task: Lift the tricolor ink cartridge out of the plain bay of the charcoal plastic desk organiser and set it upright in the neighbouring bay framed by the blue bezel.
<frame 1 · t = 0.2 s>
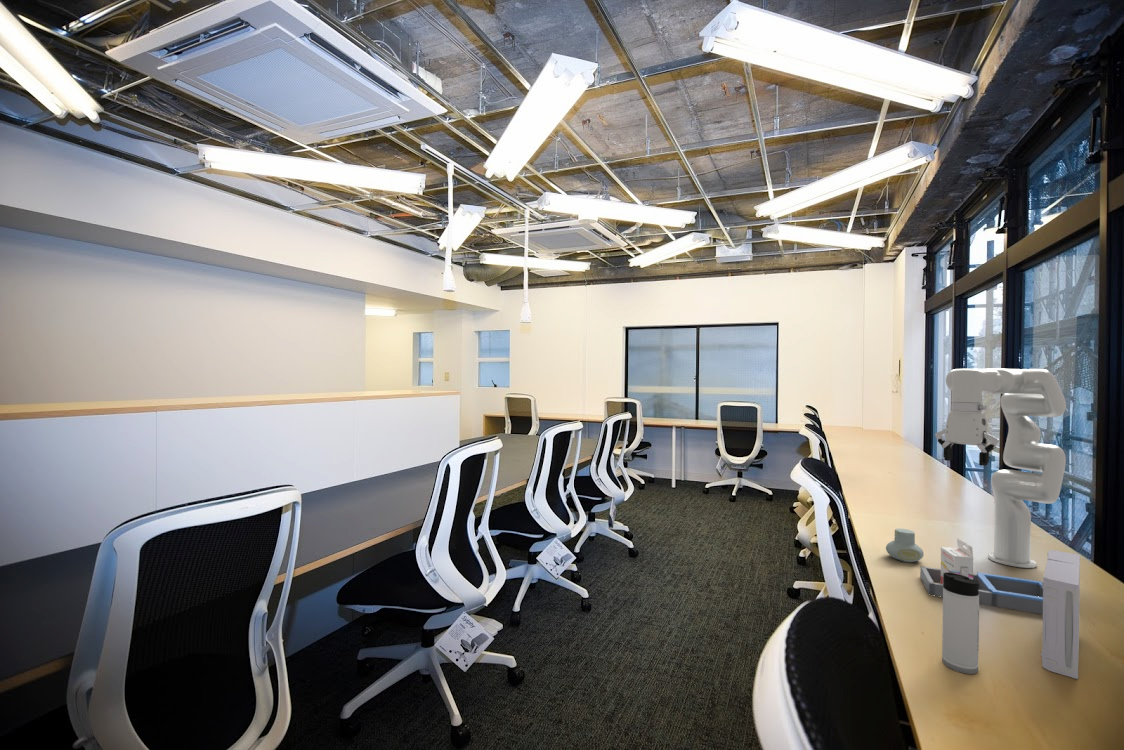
hand: (965, 462, 162), 37 cm above the counter, tool pointing down, fingers open, 9 cm apart
air freshener: (904, 560, 179), on the counter
travel mug: (959, 667, 113), on the counter
organiser: (986, 595, 150), on the counter
game console: (1060, 651, 120), on the counter
ink cartridge box: (956, 591, 153), resting in organiser
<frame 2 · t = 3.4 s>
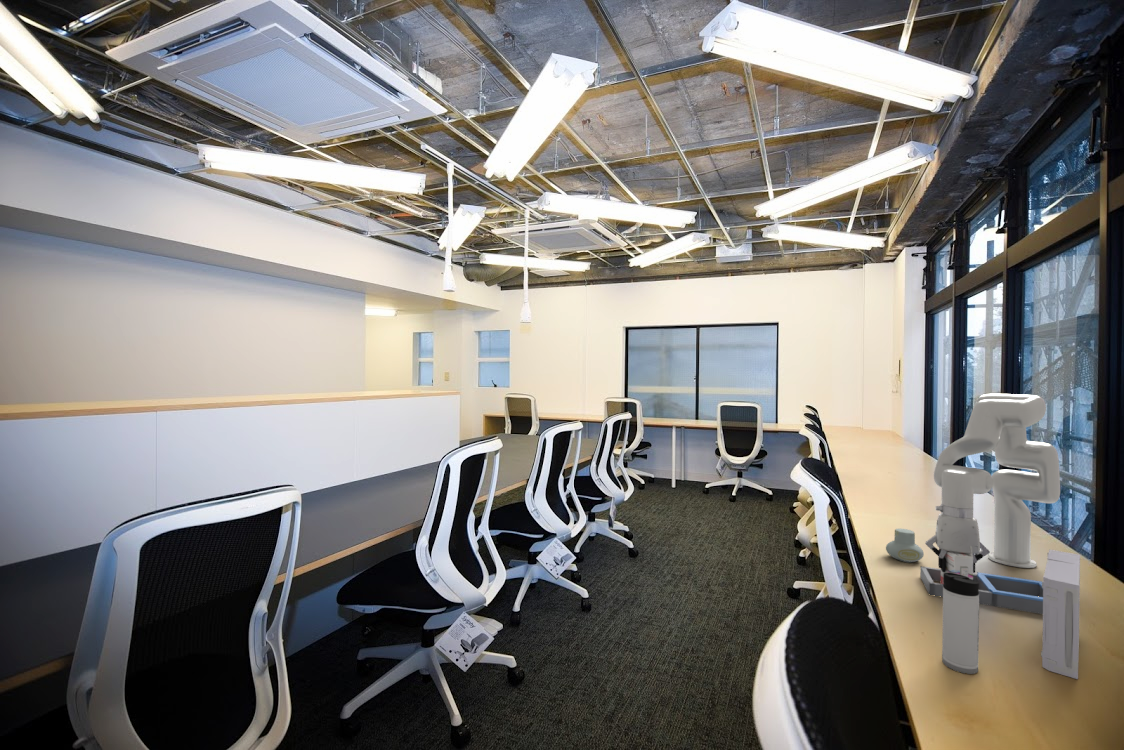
hand: (956, 572, 153), 6 cm above the counter, tool pointing down, fingers closed on ink cartridge box, 5 cm apart
ink cartridge box: (956, 591, 153), resting in organiser, touching gripper
everything else where it was.
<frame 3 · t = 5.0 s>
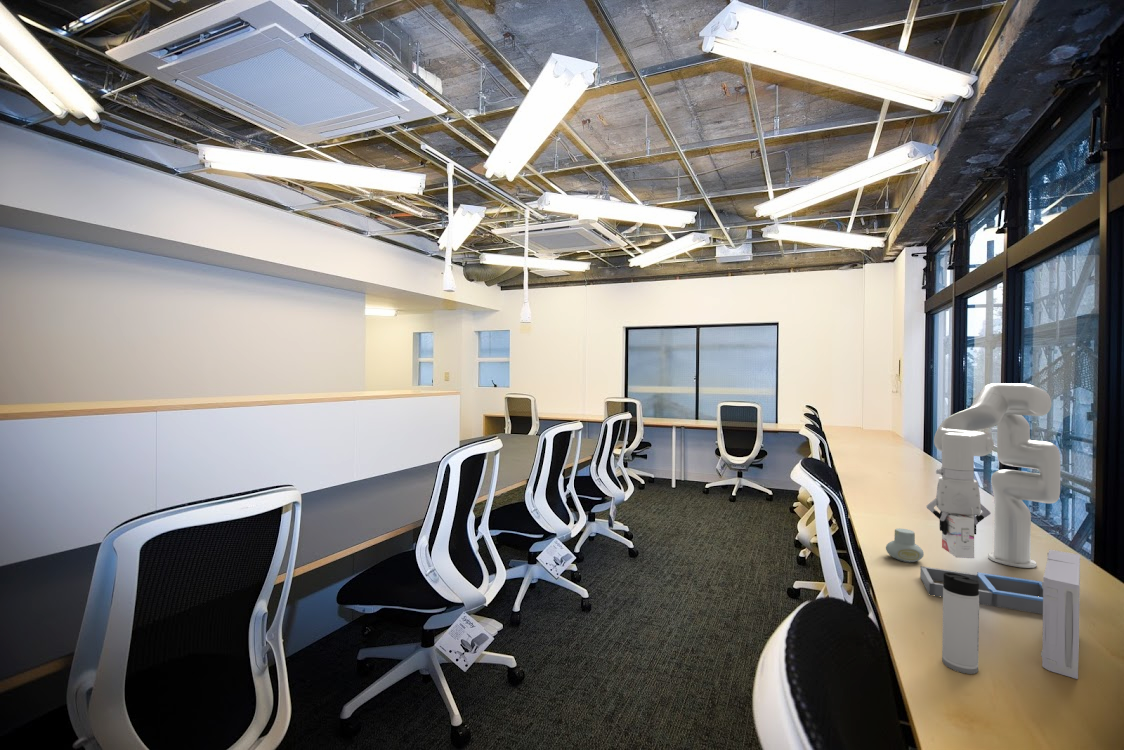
hand: (957, 534, 153), 17 cm above the counter, tool pointing down, fingers closed on ink cartridge box, 5 cm apart
ink cartridge box: (957, 553, 154), point 11 cm above the counter, touching gripper
everything else where it was.
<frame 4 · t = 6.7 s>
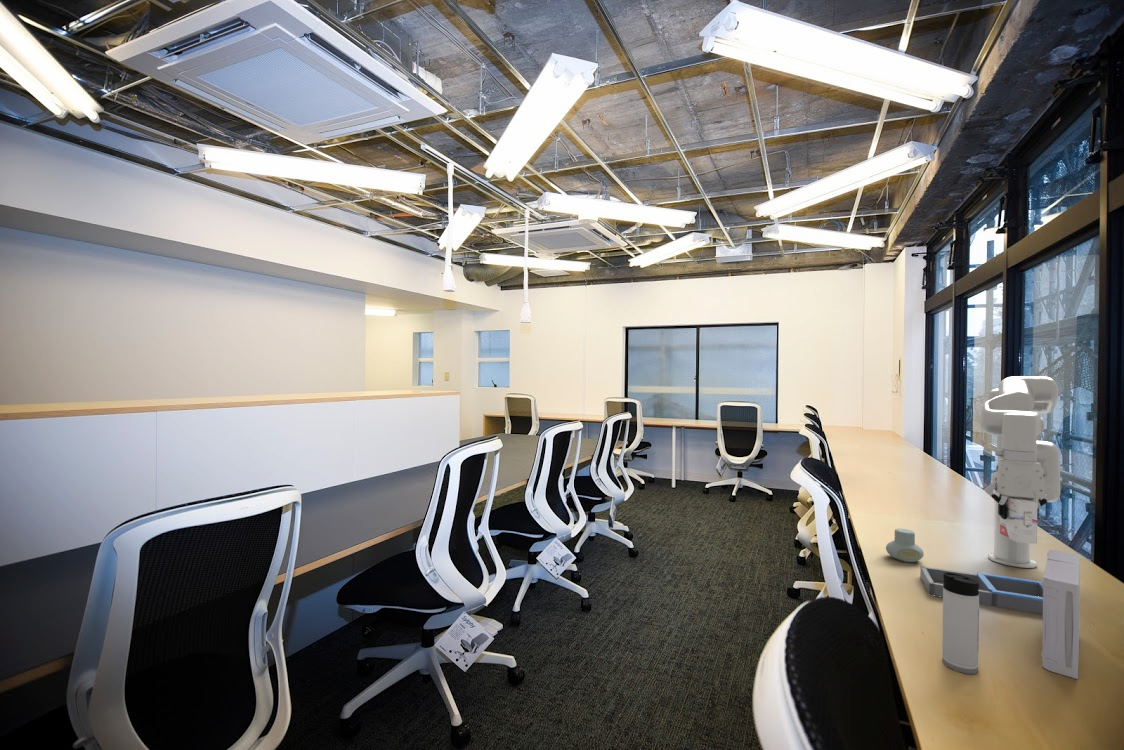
hand: (1017, 519, 147), 23 cm above the counter, tool pointing down, fingers closed on ink cartridge box, 5 cm apart
ink cartridge box: (1017, 539, 147), point 17 cm above the counter, touching gripper
everything else where it was.
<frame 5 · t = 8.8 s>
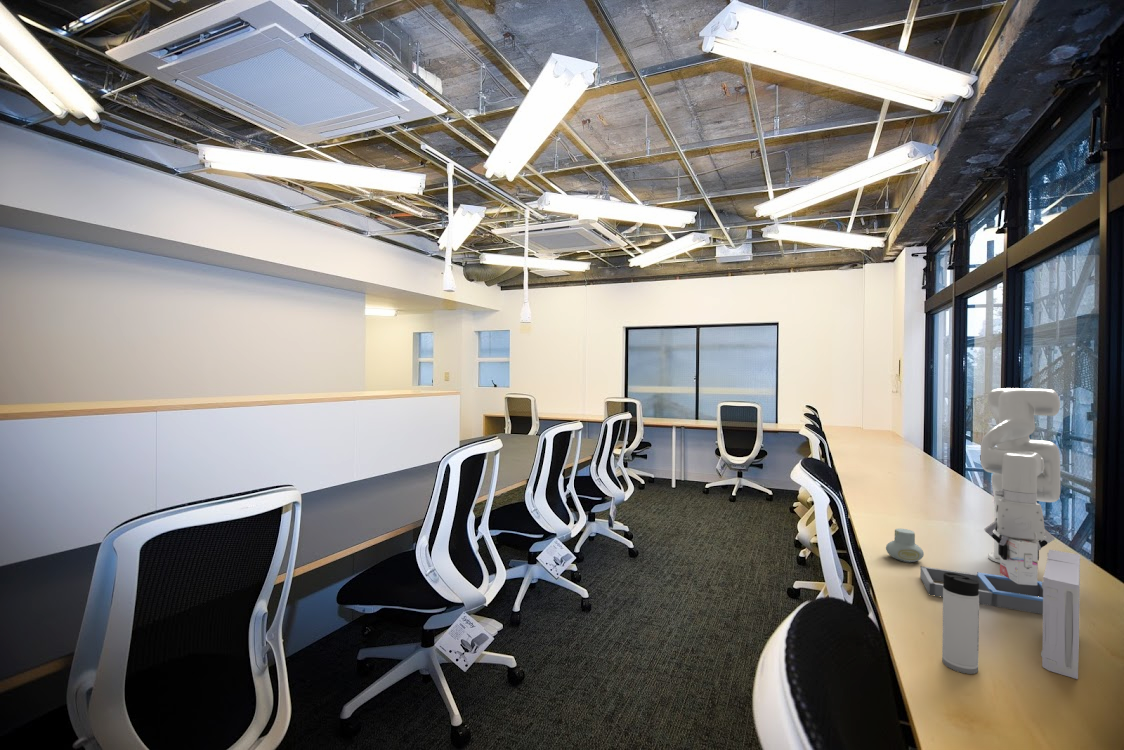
hand: (1018, 559, 147), 12 cm above the counter, tool pointing down, fingers closed on ink cartridge box, 5 cm apart
ink cartridge box: (1017, 580, 147), point 6 cm above the counter, touching gripper
everything else where it was.
when the fingers open (7 cm above the counter, at t = 10.3 s): ink cartridge box drops 1 cm, resting in organiser.
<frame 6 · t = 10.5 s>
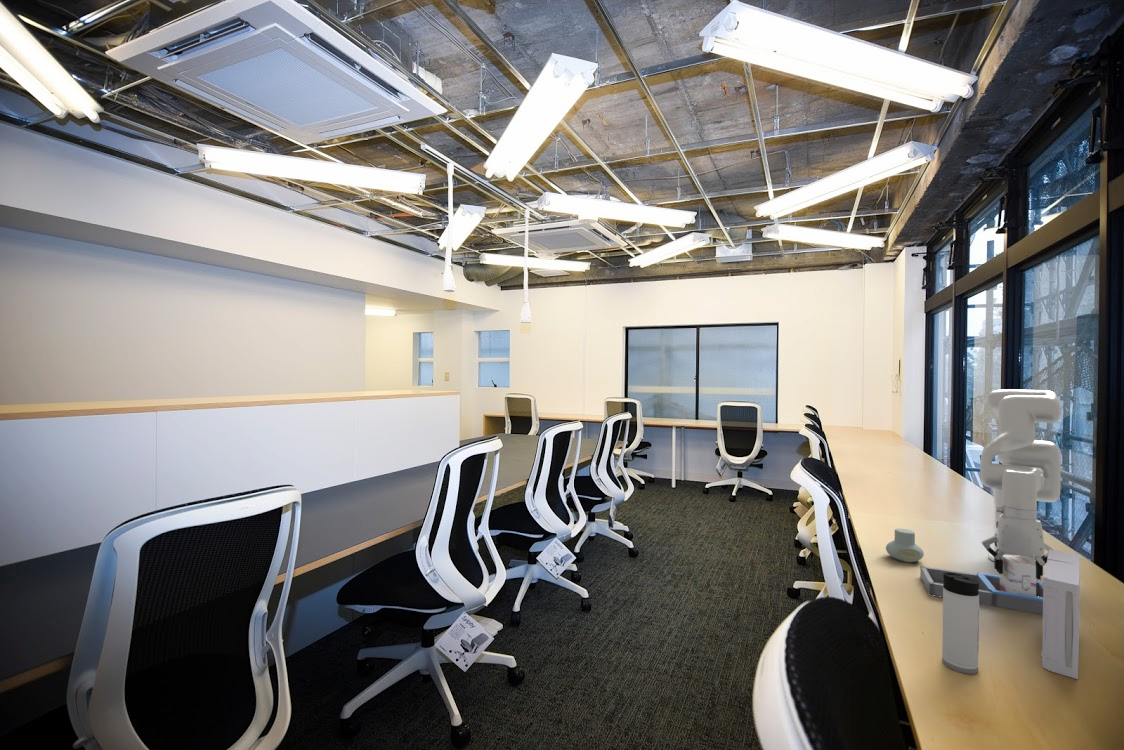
hand: (1018, 574, 147), 7 cm above the counter, tool pointing down, fingers open, 7 cm apart
ink cartridge box: (1017, 601, 147), resting in organiser
everything else where it was.
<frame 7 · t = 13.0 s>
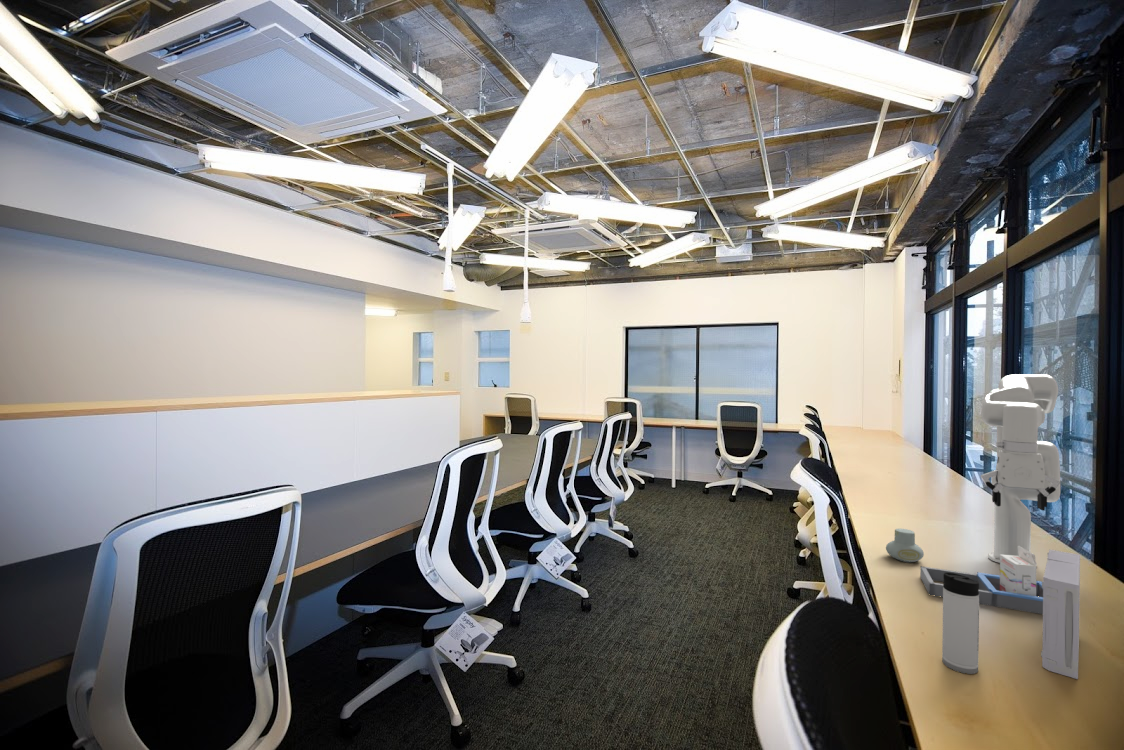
hand: (1018, 507, 148), 26 cm above the counter, tool pointing down, fingers open, 9 cm apart
nothing on the counter moved.
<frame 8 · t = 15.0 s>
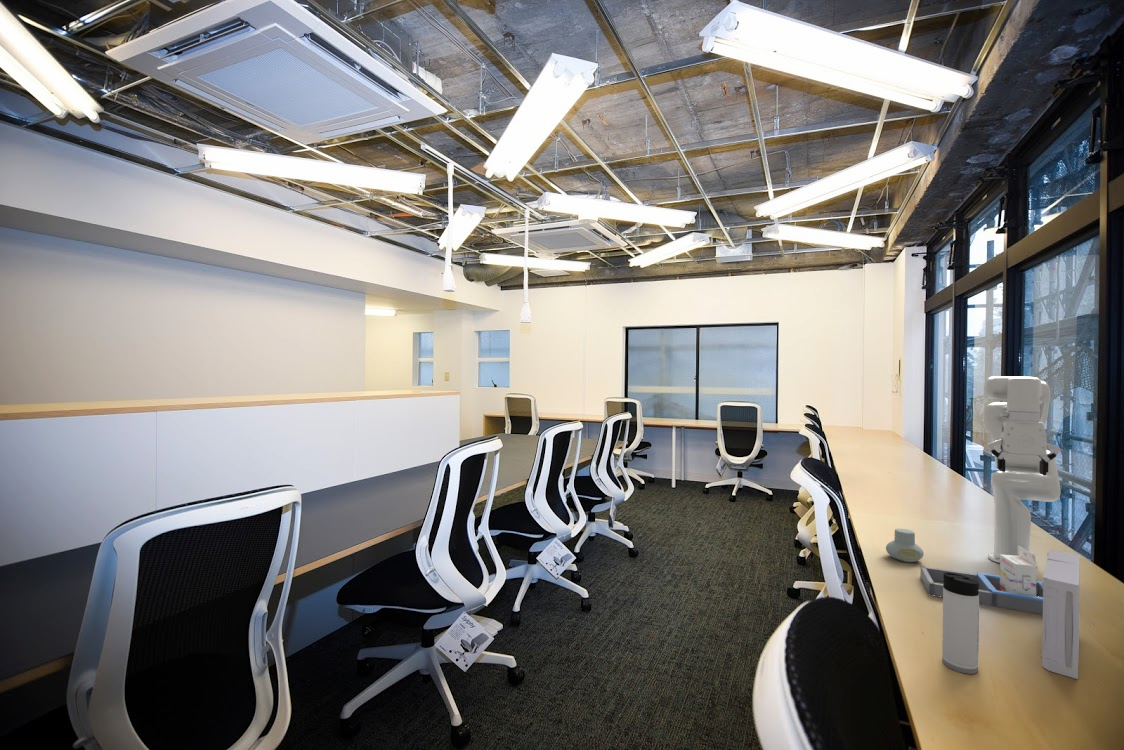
hand: (1022, 473, 158), 34 cm above the counter, tool pointing down, fingers open, 9 cm apart
nothing on the counter moved.
at the end: ink cartridge box 0.1 cm from the target spot on the organiser, point 0.0 cm above the organiser's base; ink cartridge box tilted 0°; the gripper is holding nothing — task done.
